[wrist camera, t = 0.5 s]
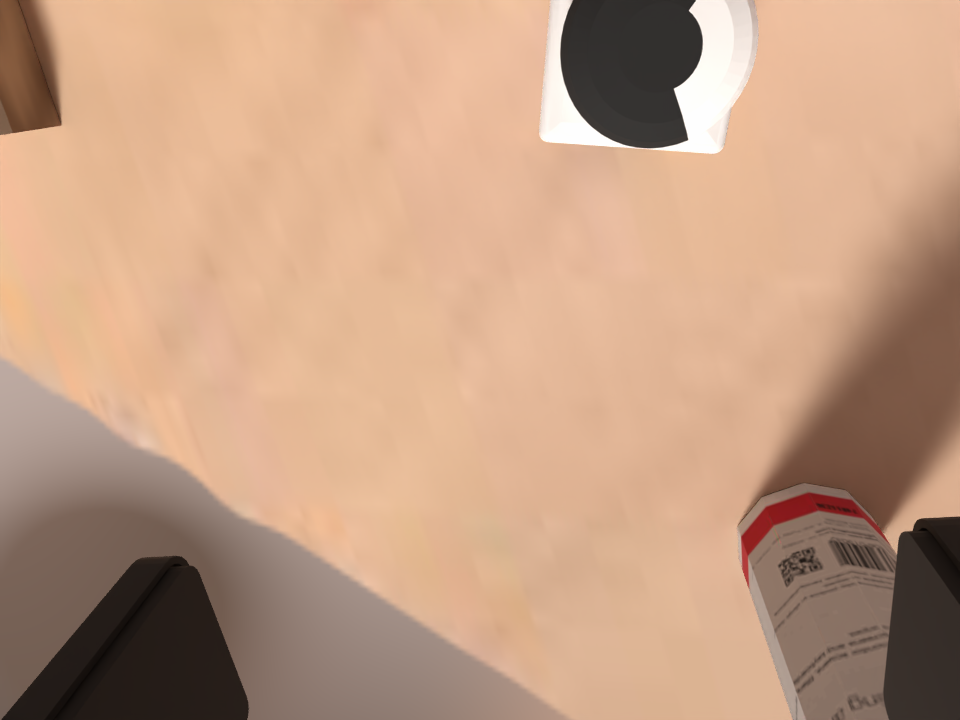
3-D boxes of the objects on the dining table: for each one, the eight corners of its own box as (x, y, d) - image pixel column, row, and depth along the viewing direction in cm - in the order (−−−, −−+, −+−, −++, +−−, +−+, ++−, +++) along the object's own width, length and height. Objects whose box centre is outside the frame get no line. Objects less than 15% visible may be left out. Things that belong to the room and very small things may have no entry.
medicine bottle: (543, 124, 34) (532, 161, 23) (558, -47, 31) (553, -96, 20) (694, 134, 33) (755, 177, 22) (723, -38, 30) (811, -86, 19)
